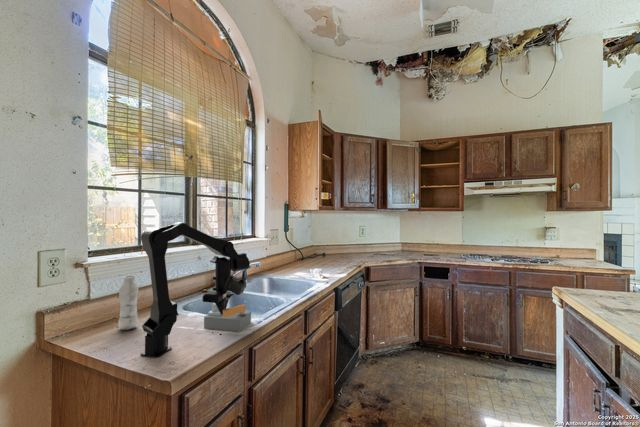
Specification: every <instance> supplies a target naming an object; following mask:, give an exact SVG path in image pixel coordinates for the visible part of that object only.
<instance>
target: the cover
mask: <svg viewBox="0 0 640 427" xmlns="http://www.w3.org/2000/svg"><path fill="white" fill-rule="evenodd" d="M228 308H229V307H226V309H228ZM207 315H209V316H221V315H222V314H221V313H220V311H219V309H218V307H217V306H216V304H215V303H211V310H209V311H208V312H207Z"/></svg>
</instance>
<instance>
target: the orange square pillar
mask: <svg viewBox="0 0 640 427" xmlns="http://www.w3.org/2000/svg"><path fill="white" fill-rule="evenodd" d="M227 308H228V309H224V310H223V317H228V316H232V315H235V314H238V313H240V315H244V314H245V311H246V304H239V305H234V306H232V307H227Z"/></svg>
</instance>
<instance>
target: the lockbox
mask: <svg viewBox="0 0 640 427" xmlns="http://www.w3.org/2000/svg"><path fill="white" fill-rule="evenodd" d="M250 323H252V311H251V310H245V314H244V315H240V313H238V314H235V315H232V316H228V317H223V314H222V315H221V316H209V315H208V314H206V315H204V316H203V329H207V330H208V329H209V330H220V331H230V332H239V333H241V331H242V330H243V329H245V328H246V327H247V326H248V325H250Z"/></svg>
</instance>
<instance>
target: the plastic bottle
mask: <svg viewBox="0 0 640 427" xmlns="http://www.w3.org/2000/svg"><path fill="white" fill-rule="evenodd" d="M135 278H136V277H135V275H125V276H123V279H122V281H123V283H122V285H121V286H120V288H119V289H118V296H119V304H120V305H119V306H120V309H119V310H120V311H119V318H118V323H117V324H118V328H119V329H120V330H121V331H128V330H132V329H133V330H134V329H135V328H136V327H137V326H138V324H139V315H138V309H137V308H138V305H137V303H138V296H139V290H140V289H139V287H138V285H137V284H136V283H135V282H136V279H135Z"/></svg>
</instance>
